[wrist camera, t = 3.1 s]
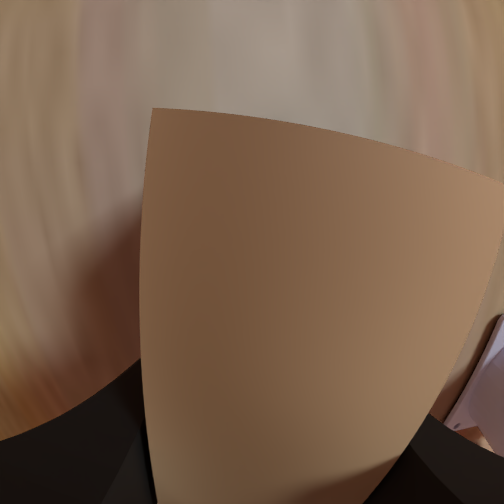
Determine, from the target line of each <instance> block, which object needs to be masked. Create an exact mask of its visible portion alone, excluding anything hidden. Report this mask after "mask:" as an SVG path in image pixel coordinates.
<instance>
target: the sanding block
mask: <svg viewBox="0 0 504 504" xmlns="http://www.w3.org/2000/svg"><path fill="white" fill-rule="evenodd" d="M503 231H504V184H503V183H501V182H498V181H496V180H493V179H491V178H488V177H486V176H483V175H481V174H478V173H475V172H473V171H470V170H467V169H465V168H462V167H459V166H456V165H453V164H450V163H448V162H445V161H442V160H439V159H436V158H433V157H429V156H426V155H423V154H420V153H417V152H413V151H410V150H406V149H403V148H400V147H396V146H392V145H389V144H385V143H381V142H377V141H374V140H370V139H366V138H362V137H357V136H353V135H349V134H345V133H340V132H336V131H331V130H326V129H321V128H316V127H311V126H306V125H301V124H295V123H289V122H283V121H277V120H271V119H264V118H257V117H250V116H242V115H234V114H226V113H216V112H206V111H195V110H181V109H165V108H153V110H152V117H151V124H150V132H149V140H148V148H147V157H146V167H145V177H144V189H143V202H142V218H141V237H140V270H139V316H140V348H141V367H142V383H143V395H144V407H145V417H146V426H147V435H148V443H149V451H150V458H151V465H152V471H153V478H154V484H155V489H156V495H157V500H158V504H363V502H364V501H365V500H366V499H367V498H368V497H369V495H370V494H371V493H372V492H373V491H374V489H375V488H376V487H377V486H378V484H379V483H380V482H381V481H382V479H383V478H384V477H385V476H386V474H387V473H388V472H389V470H390V469H391V468H392V466H393V465H394V464H395V462H396V461H397V459H398V458H399V457H400V455H401V454H402V452H403V451H404V450H405V448H406V447H407V445H408V444H409V442H410V441H411V439H412V438H413V436H414V435H415V433H416V432H417V430H418V429H419V427H420V425H421V424H422V422H423V421H424V419H425V417H426V416H427V414H428V413H429V411H430V409H431V407H432V406H433V404H434V402H435V401H436V399H437V397H438V395H439V393H440V392H441V390H442V388H443V386H444V384H445V382H446V381H447V379H448V377H449V375H450V373H451V371H452V369H453V367H454V365H455V363H456V361H457V359H458V357H459V354H460V352H461V350H462V348H463V346H464V344H465V341H466V339H467V337H468V335H469V332H470V330H471V328H472V325H473V323H474V320H475V318H476V315H477V313H478V310H479V308H480V305H481V302H482V300H483V297H484V294H485V291H486V288H487V286H488V283H489V280H490V277H491V273H492V270H493V267H494V264H495V261H496V257H497V254H498V250H499V247H500V243H501V239H502V235H503Z"/></svg>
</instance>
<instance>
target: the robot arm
mask: <svg viewBox="0 0 504 504" xmlns="http://www.w3.org/2000/svg"><path fill="white" fill-rule="evenodd" d="M475 426H478V428H479V429H480V431H481V432H482V434H483V435H484V437H485V438H486V440H487V442H488V443H489V445H490V446H491V448H492V449H493V451H494V452H495V453H493V452H491V451H489V450H487V449H485V448H482V447H480V446H478V445H477V444H475V443H473V442H471V441H469V440H467V439H466V438H464V437H463V436H461V435H459V434H458V433H456V432H455V431H457V430H462V429H466V428H470V427H475ZM0 504H158V500H157V495H156V489H155V484H154V478H153V471H152V465H151V458H150V451H149V443H148V435H147V426H146V417H145V407H144V395H143V383H142V367H141V358H140V359H139V360H137V361H136V362H135V363H134V364H133V365H132V366H130V367H129V368H128V369H127V370H126V371H125V372H123V373H122V374H121V375H120V376H119V377H117V378H116V379H115V380H113V381H112V382H111V383H109V384H108V385H107V386H105V387H104V388H103V389H101V390H100V391H99V392H97V393H96V394H95V395H93V396H92V397H90V398H89V399H87V400H86V401H84V402H83V403H81V404H79V405H78V406H76V407H74V408H73V409H71V410H69V411H68V412H66V413H64V414H62V415H61V416H59V417H57V418H55V419H53V420H51V421H49V422H47V423H44V424H42V425H40V426H38V427H36V428H33V429H31V430H29V431H27V432H24V433H22V434H19V435H16V436H14V437H11V438H8V439H5V440H2V441H0ZM363 504H504V314H503V315H501V317H500V318H499V319H498V321H497V324H496V326H495V328H494V331H493V333H492V335H491V337H490V340H489V342H488V344H487V346H486V348H485V350H484V352H483V354H482V357H481V359H480V361H479V363H478V365H477V366H476V368H475V370H474V372H473V374H472V376H471V378H470V380H469V382H468V383H467V385H466V387H465V389H464V391H463V392H462V394H461V396H460V397H459V399H458V401H457V403H456V404H455V406H454V407H453V409H452V411H451V412H450V414H449V416H448V417H447V419H446V420H445V422H444V423H443V424H442V423H441V422H439V421H438V420H437V419H435V418H434V417H433V416H431V415H430V414H429V413H428V414H427V416H426V417H425V419H424V421H423V422H422V424H421V425H420V427H419V429H418V430H417V432H416V433H415V435H414V436H413V438H412V439H411V441H410V442H409V444H408V445H407V447H406V448H405V450H404V451H403V452H402V454H401V455H400V457H399V458H398V459H397V461H396V462H395V464H394V465H393V466H392V468H391V469H390V470H389V472H388V473H387V474H386V476H385V477H384V478H383V479H382V481H381V482H380V483H379V484H378V486H377V487H376V488H375V489H374V491H373V492H372V493H371V494H370V495H369V497H368V498H367V499H366V500H365V501H364V502H363Z"/></svg>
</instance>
